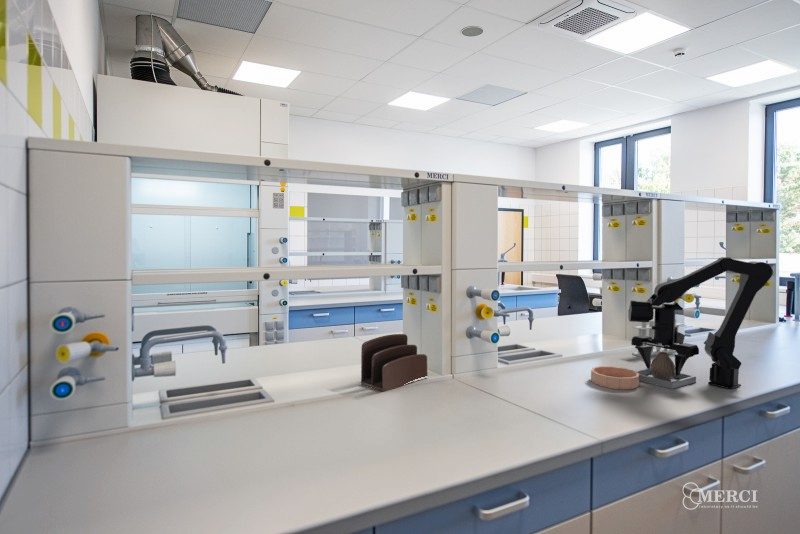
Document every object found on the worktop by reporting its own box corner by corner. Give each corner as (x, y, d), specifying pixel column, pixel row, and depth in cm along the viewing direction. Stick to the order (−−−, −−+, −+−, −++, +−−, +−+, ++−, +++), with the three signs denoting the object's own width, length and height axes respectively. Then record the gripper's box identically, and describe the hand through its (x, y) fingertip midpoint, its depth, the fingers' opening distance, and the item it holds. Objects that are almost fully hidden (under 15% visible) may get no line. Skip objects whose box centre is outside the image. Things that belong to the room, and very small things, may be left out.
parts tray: (695, 382, 150) (696, 376, 150) (672, 388, 143) (672, 383, 143) (653, 371, 162) (653, 366, 161) (629, 377, 154) (629, 372, 154)
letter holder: (360, 385, 145) (360, 339, 144) (405, 372, 159) (405, 330, 159) (383, 392, 138) (383, 344, 138) (428, 378, 152) (428, 335, 152)
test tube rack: (641, 357, 183) (642, 323, 182) (631, 354, 186) (632, 321, 186) (683, 351, 193) (685, 318, 193) (673, 348, 197) (674, 317, 197)
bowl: (647, 384, 147) (648, 374, 147) (621, 392, 140) (621, 380, 139) (608, 374, 158) (608, 364, 158) (582, 380, 151) (582, 369, 151)
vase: (645, 378, 154) (646, 351, 154) (661, 376, 157) (662, 349, 156) (663, 384, 148) (664, 356, 147) (680, 381, 150) (681, 354, 150)
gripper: (709, 325, 148) (707, 375, 148) (650, 317, 163) (648, 362, 164) (690, 328, 142) (688, 380, 143) (631, 319, 157) (629, 366, 158)
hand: (662, 371), depth 152 cm, fingers open, 9 cm apart
